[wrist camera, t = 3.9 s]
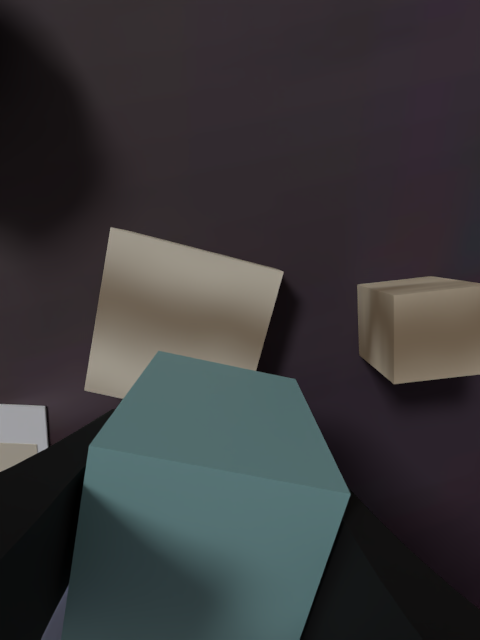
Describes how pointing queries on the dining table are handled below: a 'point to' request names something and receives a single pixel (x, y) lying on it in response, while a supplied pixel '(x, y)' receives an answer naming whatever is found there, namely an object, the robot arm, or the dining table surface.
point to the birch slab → (175, 309)
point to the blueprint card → (21, 433)
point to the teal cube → (203, 510)
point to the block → (420, 328)
